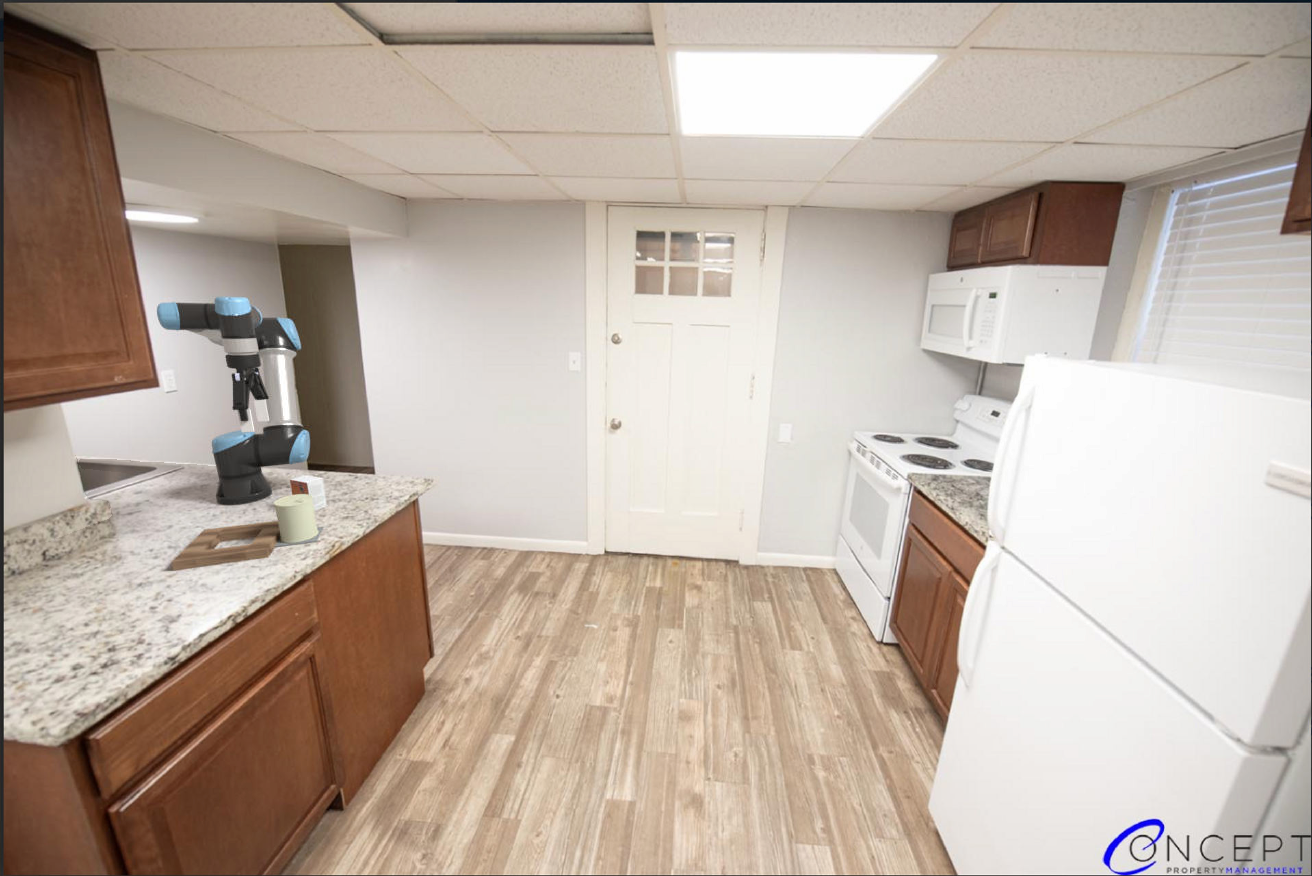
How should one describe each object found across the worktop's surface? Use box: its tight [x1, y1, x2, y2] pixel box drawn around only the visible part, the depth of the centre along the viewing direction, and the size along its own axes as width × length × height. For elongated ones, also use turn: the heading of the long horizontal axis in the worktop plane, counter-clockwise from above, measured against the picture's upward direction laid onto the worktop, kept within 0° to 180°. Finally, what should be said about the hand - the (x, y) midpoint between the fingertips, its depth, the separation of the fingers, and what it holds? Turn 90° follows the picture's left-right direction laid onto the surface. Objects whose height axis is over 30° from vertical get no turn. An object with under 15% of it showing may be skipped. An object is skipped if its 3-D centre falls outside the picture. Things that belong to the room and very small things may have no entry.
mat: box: [275, 526, 325, 548], centre depth 146 cm, size 10×10×1 cm
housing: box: [171, 520, 281, 572], centre depth 139 cm, size 20×20×2 cm
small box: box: [289, 474, 328, 512], centre depth 165 cm, size 8×6×10 cm
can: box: [273, 494, 319, 543], centre depth 145 cm, size 9×9×12 cm
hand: (256, 426), depth 145 cm, fingers open, 13 cm apart
